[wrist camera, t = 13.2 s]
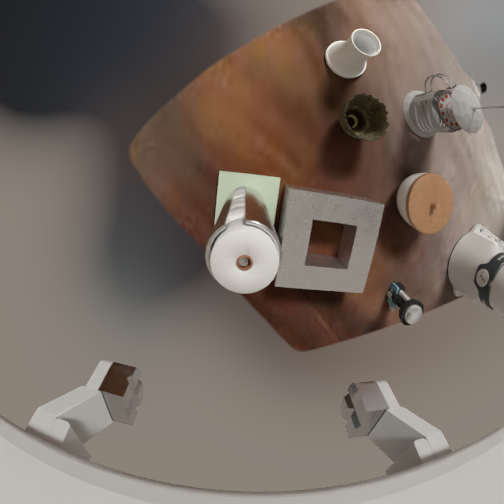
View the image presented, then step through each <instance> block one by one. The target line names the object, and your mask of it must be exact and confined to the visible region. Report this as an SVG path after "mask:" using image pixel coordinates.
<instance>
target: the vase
mask: <svg viewBox="0 0 504 504" xmlns="http://www.w3.org/2000/svg"><path fill="white" fill-rule="evenodd" d="M380 50H381V43H380V41H379V39H378V38H377V36H376V35H375V34H374V33H372V32H371V31H369V30H366V29H357V30H355V31H354V32H353V33H352V35H351V37H350V38H349V39H348V40H347V41H336V42H334V43H332V44H331V45H330V46H329V47H328V48H327V50H326V53H325V59H326V62H327V65H328V66H329V68H330V69H331V70H332V71H333V72H334V73H336V74H337V75H339V76H341V77H344V78H355V77H358V76H359V75H361V74H362V73H363V72H364V71H365V69H366V60H367V59H368V58H370V57H372V56H374V55H377V54H378V53H379V52H380Z"/></svg>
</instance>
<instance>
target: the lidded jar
mask: <svg viewBox="0 0 504 504" xmlns="http://www.w3.org/2000/svg"><path fill="white" fill-rule="evenodd" d="M397 207H398V210H399V213H400V215H401V216H402V218H403V219H404V220H405V221H406V222H407V223H408V224H409V225H410V226H411V227H413V228H415V229H416V230H417V231H419V232H421V233H423V234H434V233H436V232H438V231H440V230H441V229H442V228H443V227H444V226H445V225H446V223H447V222H448V220H449V218H450V215H451V212H452V207H453V196H452V192H451V189H450V187H449V184H448V183H447V181H446V180H445V179H444V178H443V177H441V176H440V175H437V174H433V173H416V174H413V175H410V176H409V177H407V178H406V179H405V180H404V181H403V182H402V183H401V185H400V187H399V189H398V192H397Z"/></svg>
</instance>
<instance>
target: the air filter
mask: <svg viewBox="0 0 504 504" xmlns="http://www.w3.org/2000/svg"><path fill="white" fill-rule="evenodd" d="M205 260H206V265H207V267H208V269H209V272H210V274H211V275H212V276H213V277H214V279H215V280H216V281H217V282H219V284H220V285H222V286H223V287H225V288H226V289H228V290H230V291H233V292H236V293H243V294H245V293H253V292H256V291H259V290H261V289H263V288H265V287H266V286H268V285H269V284H270V283H271V282H272V280H273V279H274V277H275V276H276V274H277V272H278V271H279V269H280V266H281V262H282V248H281V245H280V242H279V239H278V236H277V233H276V231H275V228H274V225H273V223H272V220H271V218H270V215H269V212H268V210H267V207H266V204H265V202H264V199H263V197H262V195H261V194H260V192H259V191H257V190H256V189H254V188H252V187H249V186H241V187H238V188H235V189H234V190H232V191H231V192H230V194H229V195H228V197H227V199H226V201H225V203H224V205H223V208H222V210H221V212H220V215H219V217H218V219H217V221H216V224H215V226H214V228H213V231H212V233H211V235H210V238H209V240H208V242H207V245H206V250H205Z"/></svg>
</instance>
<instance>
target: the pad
mask: <svg viewBox="0 0 504 504" xmlns="http://www.w3.org/2000/svg"><path fill="white" fill-rule="evenodd" d="M279 185H280V178H278V177H271V176H262V175H254V174H245V173H235V172H225V171H219V180H218V190H217V201H216V212H215V224H216V221H217V219H218V217H219V215H220V212H221V210H222V208H223V205H224V203H225V201H226V199H227V197H228V195H229V194H230V192H231V191H232V190H234V189H235V188H238V187H241V186H249V187H252V188H254V189H256V190H257V191H259V192H260V194H261V195H262V197H263V199H264V202H265V204H266V207H267V210H268V212H269V215H270V218H271V220H272V223H273V225H274V221H275V214H276V206H277V199H278V192H279ZM215 224H214V226H215Z"/></svg>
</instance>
